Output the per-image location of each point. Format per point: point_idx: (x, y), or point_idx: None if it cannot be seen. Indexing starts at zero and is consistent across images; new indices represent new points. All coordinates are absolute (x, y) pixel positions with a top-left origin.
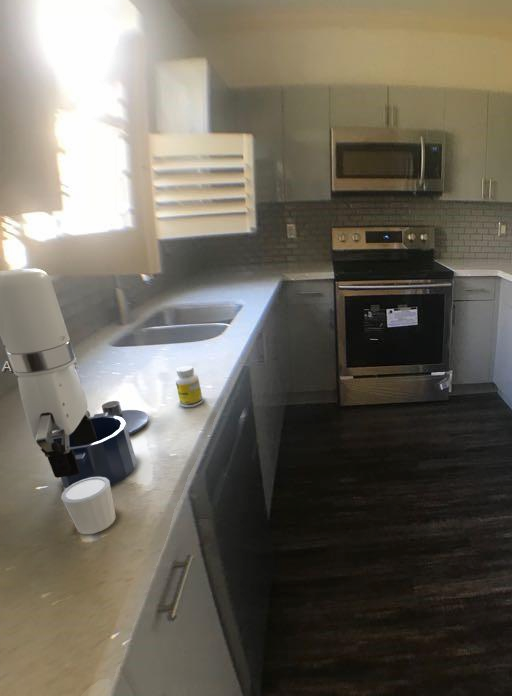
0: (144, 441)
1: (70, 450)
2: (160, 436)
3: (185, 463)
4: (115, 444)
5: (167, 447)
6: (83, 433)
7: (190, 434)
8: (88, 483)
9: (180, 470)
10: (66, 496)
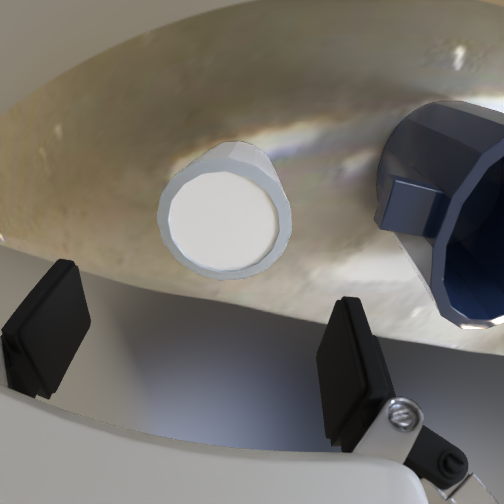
0: None
1: (40, 393)
2: None
3: None
4: (428, 292)
5: None
6: (332, 370)
7: (458, 333)
8: (254, 228)
9: None
10: (202, 175)
